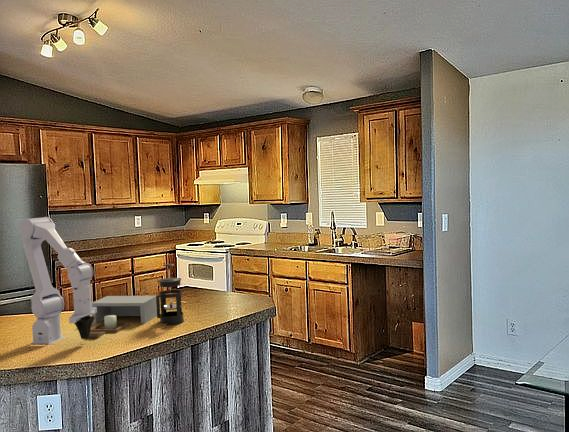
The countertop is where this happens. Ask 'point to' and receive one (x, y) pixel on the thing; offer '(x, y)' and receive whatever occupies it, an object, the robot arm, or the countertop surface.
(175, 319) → the french press
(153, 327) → the countertop surface
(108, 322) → the cream rounded block
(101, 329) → the tray
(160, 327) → the countertop surface
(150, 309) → the large grey box
